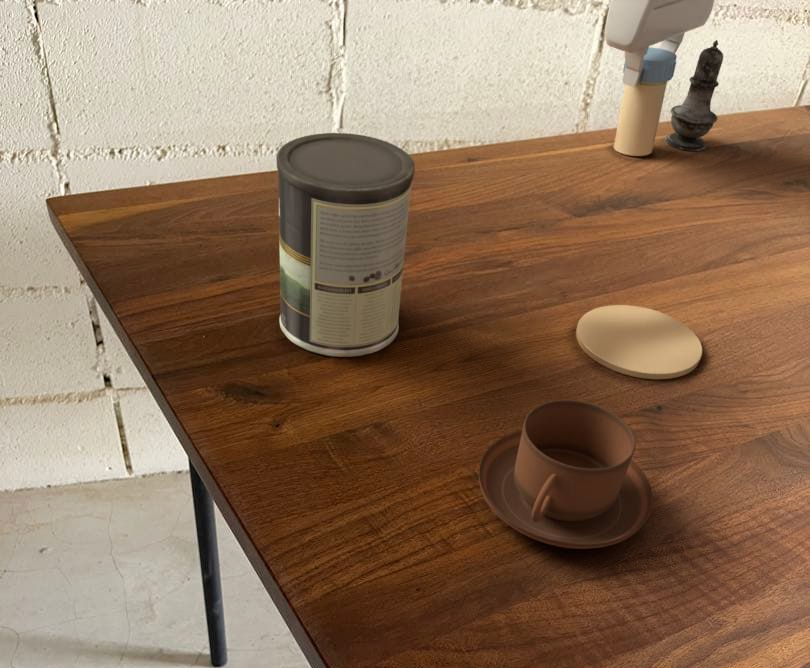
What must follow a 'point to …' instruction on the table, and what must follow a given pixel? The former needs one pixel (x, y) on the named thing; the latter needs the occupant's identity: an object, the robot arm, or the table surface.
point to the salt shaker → (697, 104)
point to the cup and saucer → (568, 477)
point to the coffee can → (342, 241)
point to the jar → (639, 118)
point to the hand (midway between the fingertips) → (644, 78)
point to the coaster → (639, 342)
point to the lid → (658, 65)
